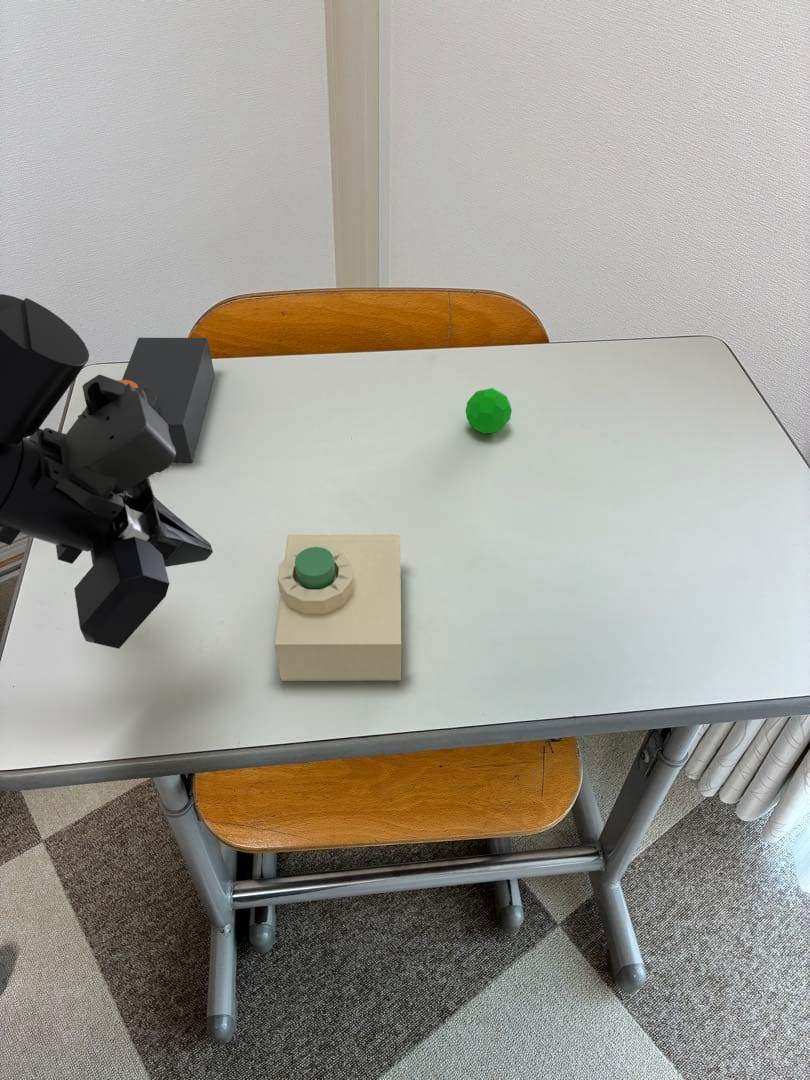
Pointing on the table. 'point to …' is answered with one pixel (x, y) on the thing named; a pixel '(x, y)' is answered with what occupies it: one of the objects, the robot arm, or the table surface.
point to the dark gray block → (175, 385)
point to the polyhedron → (488, 410)
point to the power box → (342, 612)
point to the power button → (315, 568)
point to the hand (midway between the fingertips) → (208, 552)
